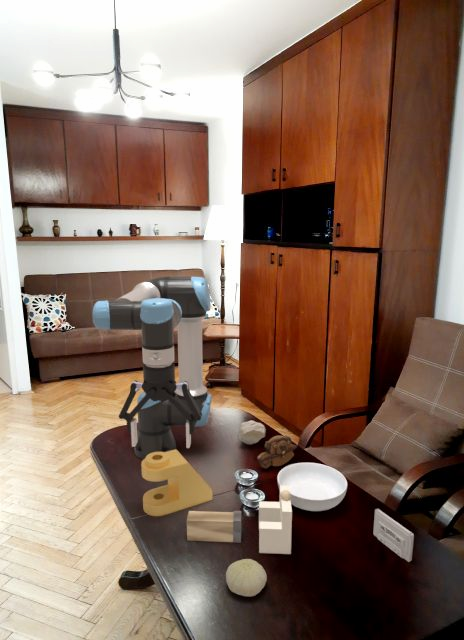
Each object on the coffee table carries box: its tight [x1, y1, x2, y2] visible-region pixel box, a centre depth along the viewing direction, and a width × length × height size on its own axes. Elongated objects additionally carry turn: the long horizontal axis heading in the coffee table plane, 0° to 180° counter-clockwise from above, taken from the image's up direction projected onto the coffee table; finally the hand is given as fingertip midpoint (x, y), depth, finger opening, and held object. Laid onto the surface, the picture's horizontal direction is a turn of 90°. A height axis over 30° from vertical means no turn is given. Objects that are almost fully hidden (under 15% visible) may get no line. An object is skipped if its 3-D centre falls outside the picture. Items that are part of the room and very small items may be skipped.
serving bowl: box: [276, 462, 348, 512], centre depth 136 cm, size 21×21×7 cm
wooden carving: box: [256, 435, 298, 469], centre depth 155 cm, size 16×5×10 cm, turn 128°
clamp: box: [140, 448, 213, 517], centre depth 134 cm, size 20×9×16 cm, turn 119°
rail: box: [186, 510, 242, 544], centre depth 119 cm, size 4×14×6 cm, turn 87°
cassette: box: [373, 508, 415, 563], centre depth 115 cm, size 12×2×8 cm, turn 29°
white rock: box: [237, 419, 267, 445], centre depth 169 cm, size 12×8×10 cm
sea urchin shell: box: [225, 558, 268, 597], centre depth 103 cm, size 9×8×8 cm
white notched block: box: [258, 486, 293, 555], centre depth 118 cm, size 11×8×14 cm
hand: (161, 445), depth 112 cm, fingers open, 13 cm apart
